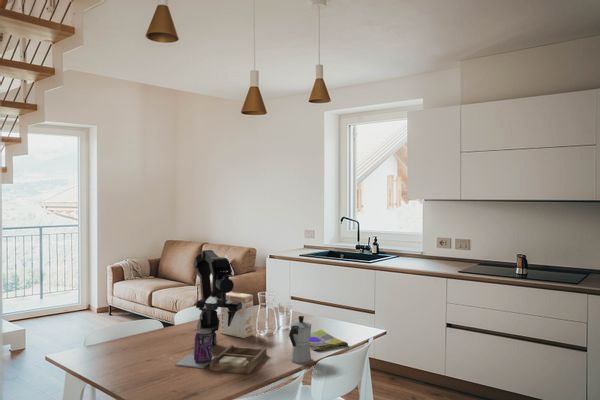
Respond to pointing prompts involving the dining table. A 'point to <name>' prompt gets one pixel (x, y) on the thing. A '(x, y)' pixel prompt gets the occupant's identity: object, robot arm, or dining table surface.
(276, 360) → the dining table surface
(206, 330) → the beverage can
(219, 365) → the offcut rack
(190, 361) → the slate mat
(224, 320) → the coffeecake box
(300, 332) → the coffee maker
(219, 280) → the robot arm
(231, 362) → the offcut stack
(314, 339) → the dish towel
